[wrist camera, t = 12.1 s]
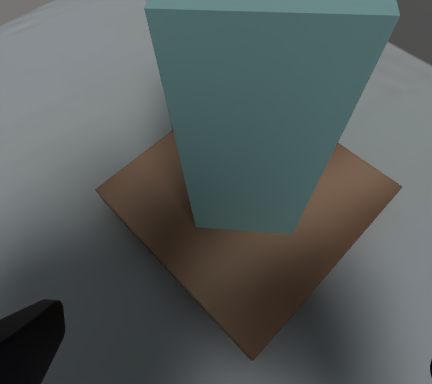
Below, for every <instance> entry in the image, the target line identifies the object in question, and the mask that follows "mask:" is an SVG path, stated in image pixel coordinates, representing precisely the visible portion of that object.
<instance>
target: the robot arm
mask: <svg viewBox="0 0 432 384" xmlns="http://www.w3.org/2000/svg"><path fill="white" fill-rule="evenodd" d="M64 334H65V321H64V312H63V305H62V303H61V301H59V300H50V299H44V300H41V301H39V302H37V303H35V304H33V305H30V306H28V307H26V308H24V309H22V310H20V311H18V312H16V313H13V314H11V315H9V316H7V317H5V318H3V319H1V320H0V384H41V383H42V381H43V379H44V376H45V374H46V372H47V370H48V368H49V366H50V364H51V362H52V360H53V358H54V356H55V354H56V352H57V350H58V348H59V346H60V344H61V342H62V340H63V337H64ZM430 372H431V376H432V360H431V364H430Z"/></svg>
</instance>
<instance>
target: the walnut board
mask: <svg viewBox="0 0 432 384" xmlns="http://www.w3.org/2000/svg"><path fill="white" fill-rule="evenodd" d="M401 188H402V186H401V185H399V184H398V183H396V182H395V181H393V180H392V179H390V178H389V177H387V176H386V175H384V174H383V173H381V172H380V171H379V170H377V169H376V168H374V167H373V166H371V165H370V164H368V163H367V162H365V161H364V160H362V159H361V158H360V157H358V156H357V155H355V154H354V153H352V152H351V151H349V150H348V149H346V148H345V147H343V146H342V145H341V144H339V143H337V145H336V147H335V149H334V151H333V153H332V155H331V157H330V159H329V161H328V163H327V165H326V167H325V169H324V171H323V174H322V176H321V178H320V180H319V182H318V184H317V186H316V188H315V190H314V192H313V194H312V196H311V198H310V200H309V202H308V204H307V206H306V208H305V210H304V212H303V214H302V216H301V218H300V220H299V222H298V224H297V226H296V228H295V230H294V233H293V235H290V234H277V233H264V232H251V231H238V230H225V229H212V228H199V227H196V225H195V221H194V217H193V213H192V208H191V204H190V200H189V196H188V192H187V187H186V183H185V179H184V175H183V170H182V166H181V162H180V158H179V153H178V149H177V145H176V141H175V136H174V132H173V131H171V132H170V133H169V134H167V135H166V136H165V137H163V138H162V139H161V140H159V141H158V142H157V143H156V144H154V145H153V146H152V147H150V148H149V149H148V150H146V151H145V152H144V153H142V154H141V155H140V156H139V157H137V158H136V159H135V160H133V161H132V162H131V163H129V164H128V165H127V166H125V167H124V168H123V169H122V170H120V171H119V172H118V173H116V174H115V175H114V176H112V177H111V178H110V179H108V180H107V181H106V182H105V183H103V184H102V185H101V186H99V187H98V188H97V189H95V190H96V191H97V193H98V194H99V195H100V197H101V198H102V199H103V201H104V202H105V203H106V204H107V205H108V206H109V207H110V208H111V209H112V210H113V211H114V213H115V214H116V215H117V216H118V217H119V218H120V219H121V220H122V221H123V222H124V223H125V224H126V226H127V227H128V228H129V229H130V230H131V231H132V232H133V233H134V234H135V235H136V236H137V237H138V239H139V240H140V241H141V242H142V243H143V244H144V245H145V246H146V247H147V248H148V249H149V250H150V252H151V253H152V254H153V255H154V256H155V257H156V258H157V259H158V260H159V261H160V262H161V263H162V265H163V266H164V267H165V268H166V269H167V270H168V271H169V272H170V273H171V274H172V275H173V276H174V278H175V279H176V280H177V281H178V282H179V283H180V284H181V285H182V286H183V287H184V288H185V289H186V291H187V292H188V293H189V294H190V295H191V296H192V297H193V298H194V299H195V300H196V301H197V302H198V304H199V305H200V306H201V307H202V308H203V309H204V310H205V311H206V312H207V313H208V314H209V315H210V317H211V318H212V319H213V320H214V321H215V322H216V323H217V324H218V325H219V326H220V327H221V328H222V330H223V331H224V332H225V333H226V334H227V335H228V336H229V337H230V338H231V339H232V340H233V341H234V343H235V344H236V345H237V346H238V347H239V348H240V349H241V350H242V351H243V352H244V353H245V354H246V356H247V357H248V358H249V359H250V360H251V361H252V360H254V359H255V358H256V357H257V356H258V354H259V353H260V352H261V351H262V350H263V349H264V347H265V346H266V345H267V344H268V343H269V342H270V340H271V339H272V338H273V337H274V336H275V335H276V333H277V332H278V331H279V330H280V329H281V328H282V327H283V325H284V324H285V323H286V322H287V321H288V320H289V318H290V317H291V316H292V315H293V314H294V313H295V311H296V310H297V309H298V308H299V307H300V306H301V304H302V303H303V302H304V301H305V300H306V299H307V297H308V296H309V295H310V294H311V293H312V292H313V290H314V289H315V288H316V287H317V286H318V285H319V284H320V282H321V281H322V280H323V279H324V278H325V277H326V275H327V274H328V273H329V272H330V271H331V270H332V268H333V267H334V266H335V265H336V264H337V263H338V261H339V260H340V259H341V258H342V257H343V256H344V254H345V253H346V252H347V251H348V250H349V249H350V247H351V246H352V245H353V244H354V243H355V242H356V241H357V239H358V238H359V237H360V236H361V235H362V234H363V232H364V231H365V230H366V229H367V228H368V227H369V225H370V224H371V223H372V222H373V221H374V220H375V218H376V217H377V216H378V215H379V214H380V213H381V211H382V210H383V209H384V208H385V207H386V206H387V204H388V203H389V202H390V201H391V200H392V199H393V198H394V196H395V195H396V194H397V193H398V192H399V191H400V189H401Z"/></svg>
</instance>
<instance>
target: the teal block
mask: <svg viewBox="0 0 432 384" xmlns="http://www.w3.org/2000/svg"><path fill="white" fill-rule="evenodd" d="M144 9H145V13H146V17H147V22H148V26H149V30H150V34H151V39H152V43H153V47H154V51H155V56H156V60H157V64H158V68H159V73H160V77H161V81H162V85H163V90H164V94H165V98H166V102H167V107H168V111H169V115H170V119H171V124H172V128H173V132H174V136H175V141H176V145H177V149H178V153H179V158H180V162H181V166H182V170H183V175H184V179H185V183H186V187H187V192H188V196H189V200H190V204H191V208H192V213H193V217H194V221H195V225H196V227H199V228H212V229H225V230H238V231H251V232H264V233H277V234H290V235H293V233H294V230H295V228H296V226H297V224H298V222H299V220H300V218H301V216H302V214H303V212H304V210H305V208H306V206H307V204H308V202H309V200H310V198H311V196H312V194H313V192H314V190H315V188H316V186H317V184H318V182H319V180H320V178H321V176H322V174H323V171H324V169H325V167H326V165H327V163H328V161H329V159H330V157H331V155H332V153H333V151H334V149H335V147H336V145H337V143H338V141H339V139H340V137H341V135H342V133H343V131H344V129H345V127H346V125H347V123H348V121H349V119H350V117H351V115H352V112H353V110H354V108H355V106H356V104H357V102H358V100H359V98H360V96H361V94H362V92H363V90H364V88H365V86H366V84H367V82H368V80H369V78H370V76H371V74H372V72H373V70H374V68H375V66H376V64H377V62H378V60H379V58H380V56H381V54H382V51H383V49H384V47H385V45H386V43H387V41H388V39H389V37H390V35H391V33H392V31H393V29H394V27H395V25H396V23H397V21H398V19H399V17H400V13H399V10H398V6H397V2H396V0H147V2H146V5H145V8H144Z"/></svg>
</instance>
